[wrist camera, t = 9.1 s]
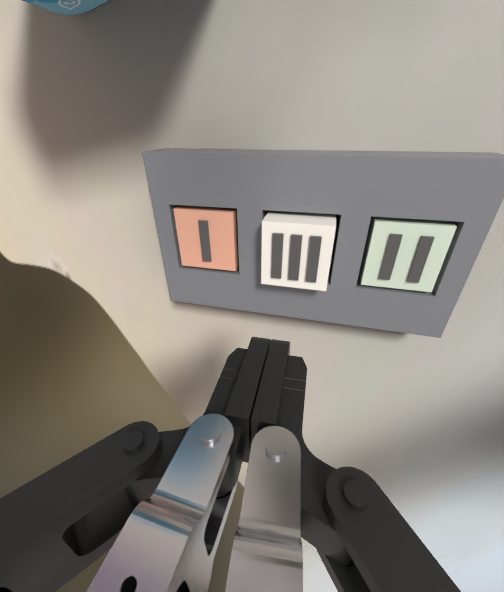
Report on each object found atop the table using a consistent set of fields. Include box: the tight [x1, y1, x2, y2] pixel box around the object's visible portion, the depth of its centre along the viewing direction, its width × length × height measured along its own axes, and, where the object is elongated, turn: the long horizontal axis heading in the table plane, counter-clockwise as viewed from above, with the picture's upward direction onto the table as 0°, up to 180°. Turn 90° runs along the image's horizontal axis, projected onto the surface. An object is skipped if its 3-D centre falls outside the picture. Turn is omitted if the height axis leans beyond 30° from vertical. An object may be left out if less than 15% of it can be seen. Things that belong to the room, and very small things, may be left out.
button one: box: [173, 205, 239, 271], centre depth 23 cm, size 5×5×3 cm
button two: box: [359, 216, 457, 292], centre depth 20 cm, size 5×5×3 cm
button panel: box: [142, 149, 504, 338], centre depth 21 cm, size 22×12×3 cm, turn 90°
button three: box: [261, 210, 336, 291], centre depth 20 cm, size 5×5×3 cm
